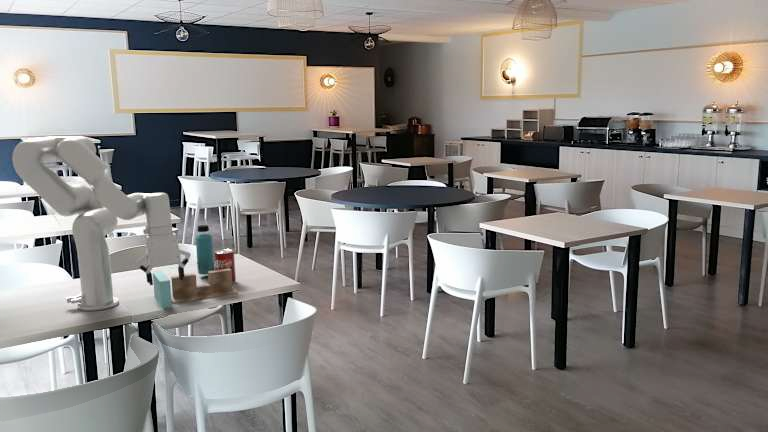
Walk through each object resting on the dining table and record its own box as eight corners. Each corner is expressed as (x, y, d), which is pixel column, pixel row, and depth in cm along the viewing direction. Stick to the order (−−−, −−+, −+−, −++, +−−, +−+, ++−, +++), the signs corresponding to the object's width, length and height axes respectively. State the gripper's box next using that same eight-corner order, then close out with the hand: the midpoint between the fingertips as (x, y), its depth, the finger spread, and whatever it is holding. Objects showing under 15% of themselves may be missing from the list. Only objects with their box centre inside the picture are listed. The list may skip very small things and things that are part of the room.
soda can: (230, 286, 241) (228, 253, 239) (212, 285, 243) (210, 253, 240) (239, 280, 248) (237, 249, 246) (220, 279, 250) (219, 248, 247)
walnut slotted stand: (172, 303, 221) (171, 280, 220) (168, 297, 228) (166, 274, 227) (237, 293, 231) (236, 271, 230) (231, 288, 238) (230, 266, 237)
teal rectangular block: (161, 308, 217) (159, 281, 215) (154, 297, 229) (152, 272, 227) (171, 306, 218) (169, 280, 217) (164, 296, 230) (162, 270, 229)
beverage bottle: (219, 275, 256) (215, 224, 252) (206, 279, 250) (202, 227, 247) (207, 273, 259) (203, 223, 256) (194, 277, 254) (190, 226, 250)
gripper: (133, 236, 209) (140, 289, 212) (189, 228, 216) (195, 279, 219) (130, 232, 215) (137, 283, 218) (185, 225, 223) (190, 274, 226)
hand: (166, 281), depth 219 cm, fingers open, 9 cm apart
